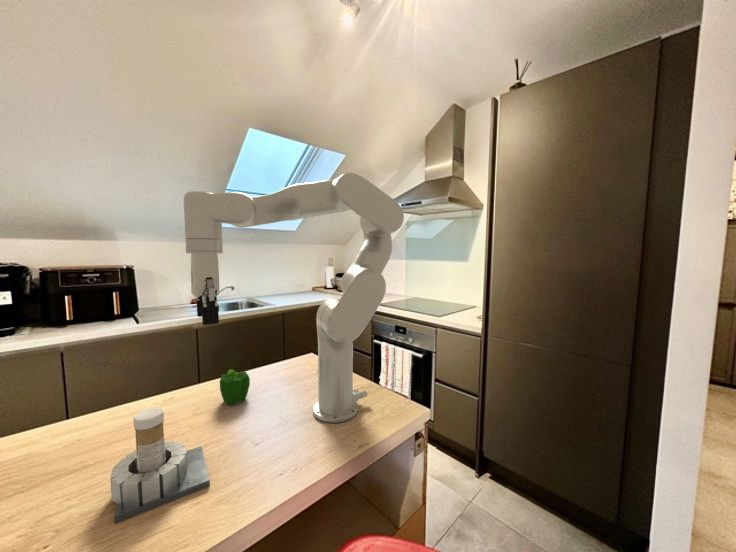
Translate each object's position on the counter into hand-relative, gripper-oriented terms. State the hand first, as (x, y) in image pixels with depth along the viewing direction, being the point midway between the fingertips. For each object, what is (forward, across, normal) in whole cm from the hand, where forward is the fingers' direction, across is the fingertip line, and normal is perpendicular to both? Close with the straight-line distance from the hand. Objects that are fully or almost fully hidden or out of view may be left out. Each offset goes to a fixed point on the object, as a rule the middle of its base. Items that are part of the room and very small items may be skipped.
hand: (207, 319), depth 72 cm
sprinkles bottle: (+27, +12, -12) cm, 32 cm away
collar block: (+28, +12, -10) cm, 32 cm away
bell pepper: (+28, -14, +8) cm, 33 cm away
